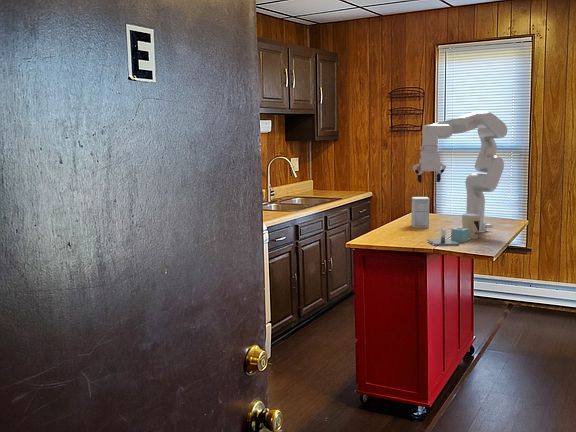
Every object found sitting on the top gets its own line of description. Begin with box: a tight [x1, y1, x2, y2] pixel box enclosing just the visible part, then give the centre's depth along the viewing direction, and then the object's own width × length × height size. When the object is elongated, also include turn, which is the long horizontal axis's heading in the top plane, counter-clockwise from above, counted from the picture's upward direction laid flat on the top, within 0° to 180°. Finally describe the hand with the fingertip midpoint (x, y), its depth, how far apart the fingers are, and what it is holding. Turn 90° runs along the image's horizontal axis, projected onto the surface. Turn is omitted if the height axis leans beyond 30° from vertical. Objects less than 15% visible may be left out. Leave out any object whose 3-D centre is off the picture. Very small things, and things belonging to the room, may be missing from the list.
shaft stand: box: [426, 228, 460, 247], centre depth 295 cm, size 12×12×7 cm
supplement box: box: [410, 196, 430, 228], centre depth 349 cm, size 10×9×17 cm
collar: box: [450, 227, 469, 243], centre depth 303 cm, size 6×6×6 cm
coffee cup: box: [461, 212, 481, 240], centre depth 312 cm, size 9×9×12 cm
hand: (429, 182), depth 312 cm, fingers open, 9 cm apart
